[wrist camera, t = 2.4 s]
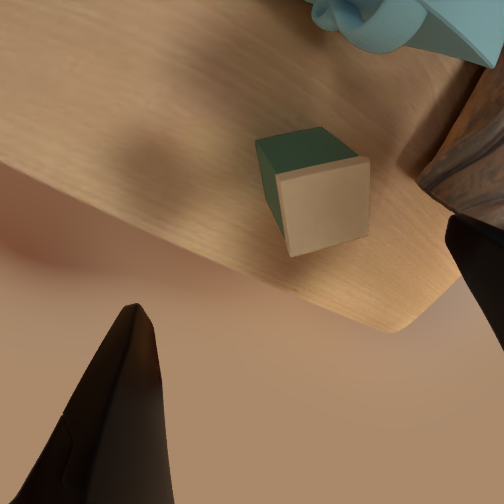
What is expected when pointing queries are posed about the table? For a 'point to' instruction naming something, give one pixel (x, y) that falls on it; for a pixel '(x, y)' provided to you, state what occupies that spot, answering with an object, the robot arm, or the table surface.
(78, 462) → the robot arm
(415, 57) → the table surface
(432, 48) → the teapot
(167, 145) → the table surface
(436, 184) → the sculpture
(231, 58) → the table surface
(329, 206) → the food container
